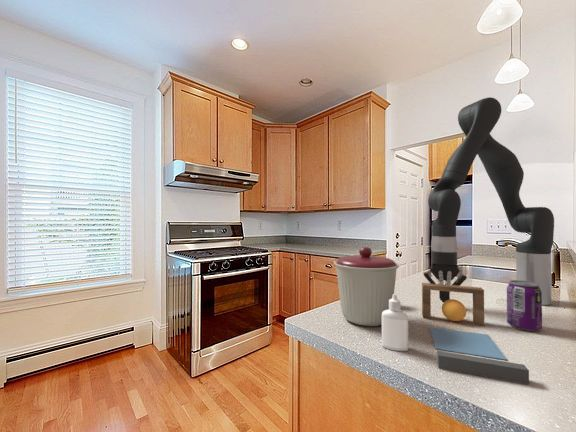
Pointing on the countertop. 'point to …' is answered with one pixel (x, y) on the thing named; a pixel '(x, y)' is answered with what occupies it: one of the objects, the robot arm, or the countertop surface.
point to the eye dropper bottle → (394, 327)
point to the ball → (454, 310)
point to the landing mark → (465, 343)
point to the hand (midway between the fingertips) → (444, 301)
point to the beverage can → (524, 305)
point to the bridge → (477, 291)
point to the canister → (365, 286)
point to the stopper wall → (483, 367)
